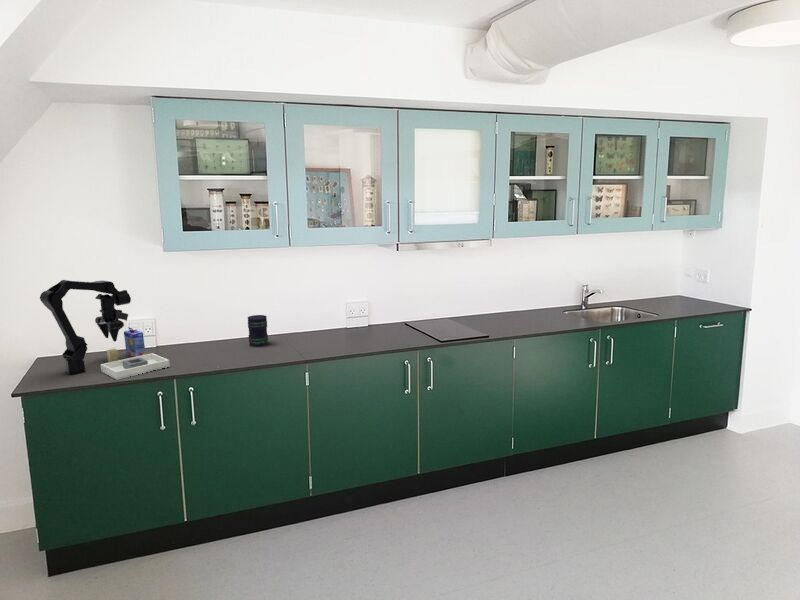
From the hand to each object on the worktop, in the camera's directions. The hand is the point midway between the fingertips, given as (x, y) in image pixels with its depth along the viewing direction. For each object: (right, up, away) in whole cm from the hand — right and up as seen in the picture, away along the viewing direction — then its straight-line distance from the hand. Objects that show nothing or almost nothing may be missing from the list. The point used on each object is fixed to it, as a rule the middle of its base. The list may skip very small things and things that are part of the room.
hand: (111, 339), depth 286 cm
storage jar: (+63, -5, +30) cm, 70 cm away
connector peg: (0, -11, +2) cm, 11 cm away
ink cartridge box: (+6, -9, +13) cm, 17 cm away
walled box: (+16, -13, -10) cm, 23 cm away
